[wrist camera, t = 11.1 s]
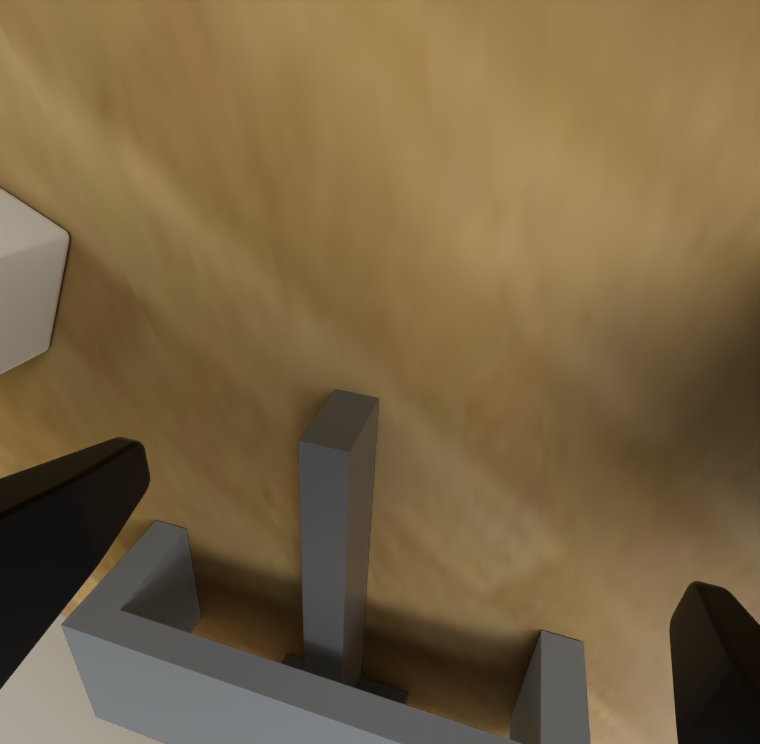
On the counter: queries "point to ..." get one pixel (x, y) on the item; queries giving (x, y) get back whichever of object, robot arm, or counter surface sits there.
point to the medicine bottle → (27, 280)
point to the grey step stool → (267, 674)
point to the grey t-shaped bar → (337, 539)
